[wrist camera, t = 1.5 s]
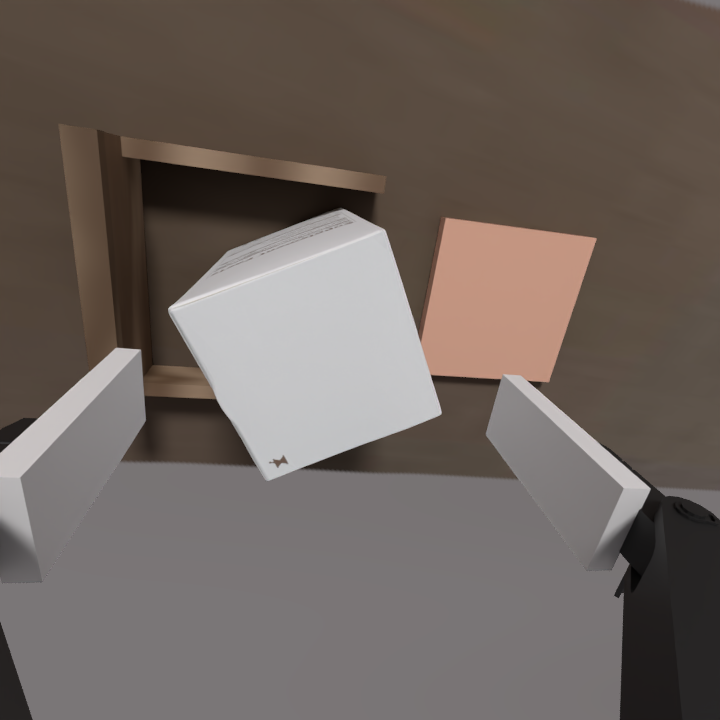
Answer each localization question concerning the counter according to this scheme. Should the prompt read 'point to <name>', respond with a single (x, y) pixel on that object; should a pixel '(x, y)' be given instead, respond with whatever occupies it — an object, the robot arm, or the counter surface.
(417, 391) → the supplement box
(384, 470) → the counter surface
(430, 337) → the terracotta tile
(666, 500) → the robot arm
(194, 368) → the wooden u-shaped frame
